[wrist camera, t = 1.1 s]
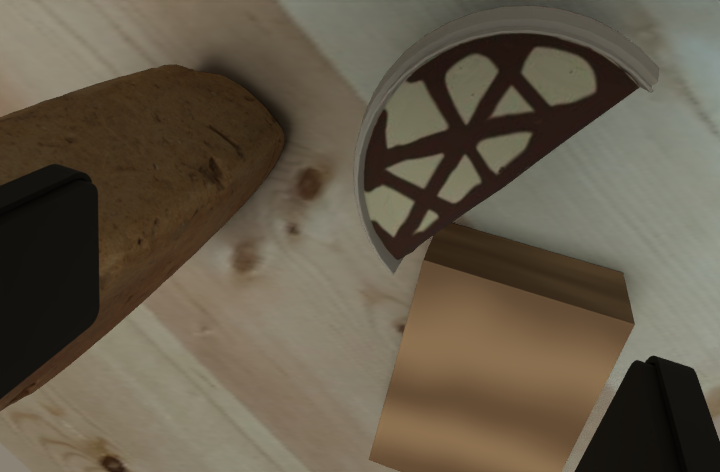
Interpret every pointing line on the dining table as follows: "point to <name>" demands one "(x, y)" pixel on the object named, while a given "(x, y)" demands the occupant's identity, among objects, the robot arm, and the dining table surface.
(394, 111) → the food container
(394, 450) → the plinth
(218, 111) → the brown lumpy post
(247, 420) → the dining table surface
